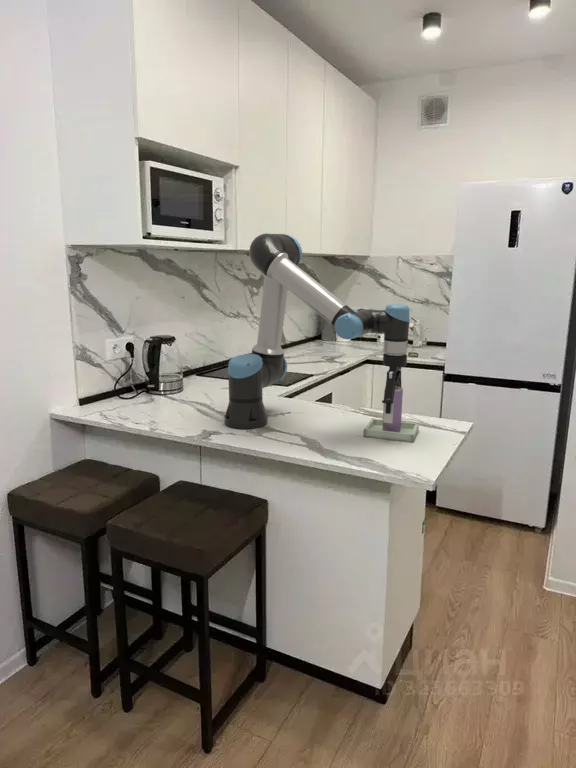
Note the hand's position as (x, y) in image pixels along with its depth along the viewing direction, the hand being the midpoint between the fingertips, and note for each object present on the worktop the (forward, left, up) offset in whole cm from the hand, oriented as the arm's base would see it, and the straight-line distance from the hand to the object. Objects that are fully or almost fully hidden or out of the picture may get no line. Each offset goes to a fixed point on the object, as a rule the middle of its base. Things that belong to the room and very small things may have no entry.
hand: (391, 416), depth 182 cm
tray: (0, 0, -6) cm, 6 cm away
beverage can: (0, 0, -5) cm, 5 cm away
